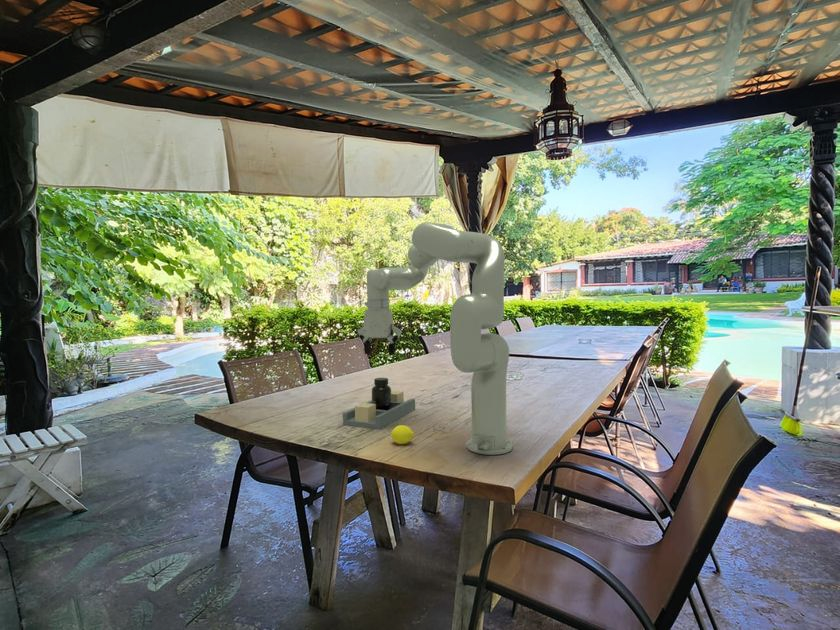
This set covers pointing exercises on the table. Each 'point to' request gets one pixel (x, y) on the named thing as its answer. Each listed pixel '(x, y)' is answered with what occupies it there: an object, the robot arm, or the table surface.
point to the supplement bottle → (381, 394)
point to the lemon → (402, 434)
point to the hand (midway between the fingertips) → (379, 354)
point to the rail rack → (378, 412)
